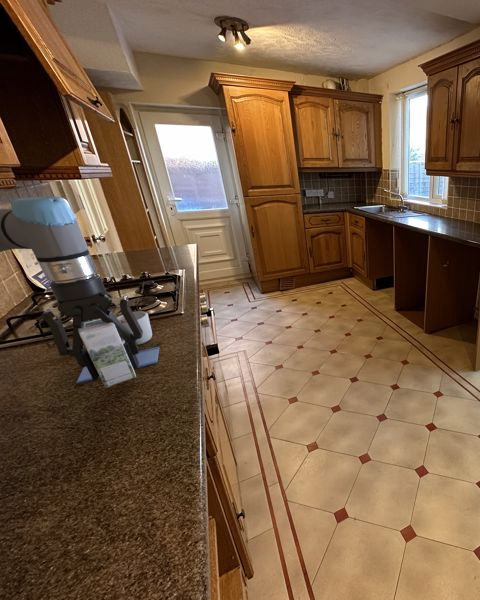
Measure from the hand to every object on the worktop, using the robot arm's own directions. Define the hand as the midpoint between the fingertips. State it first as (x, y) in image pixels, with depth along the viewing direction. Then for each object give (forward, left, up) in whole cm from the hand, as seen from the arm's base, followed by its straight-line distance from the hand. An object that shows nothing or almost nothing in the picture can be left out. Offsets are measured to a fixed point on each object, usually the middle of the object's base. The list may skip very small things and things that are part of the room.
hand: (117, 371), depth 74 cm
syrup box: (0, 0, -2) cm, 2 cm away
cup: (0, +23, -5) cm, 24 cm away
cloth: (-2, +12, -5) cm, 13 cm away
